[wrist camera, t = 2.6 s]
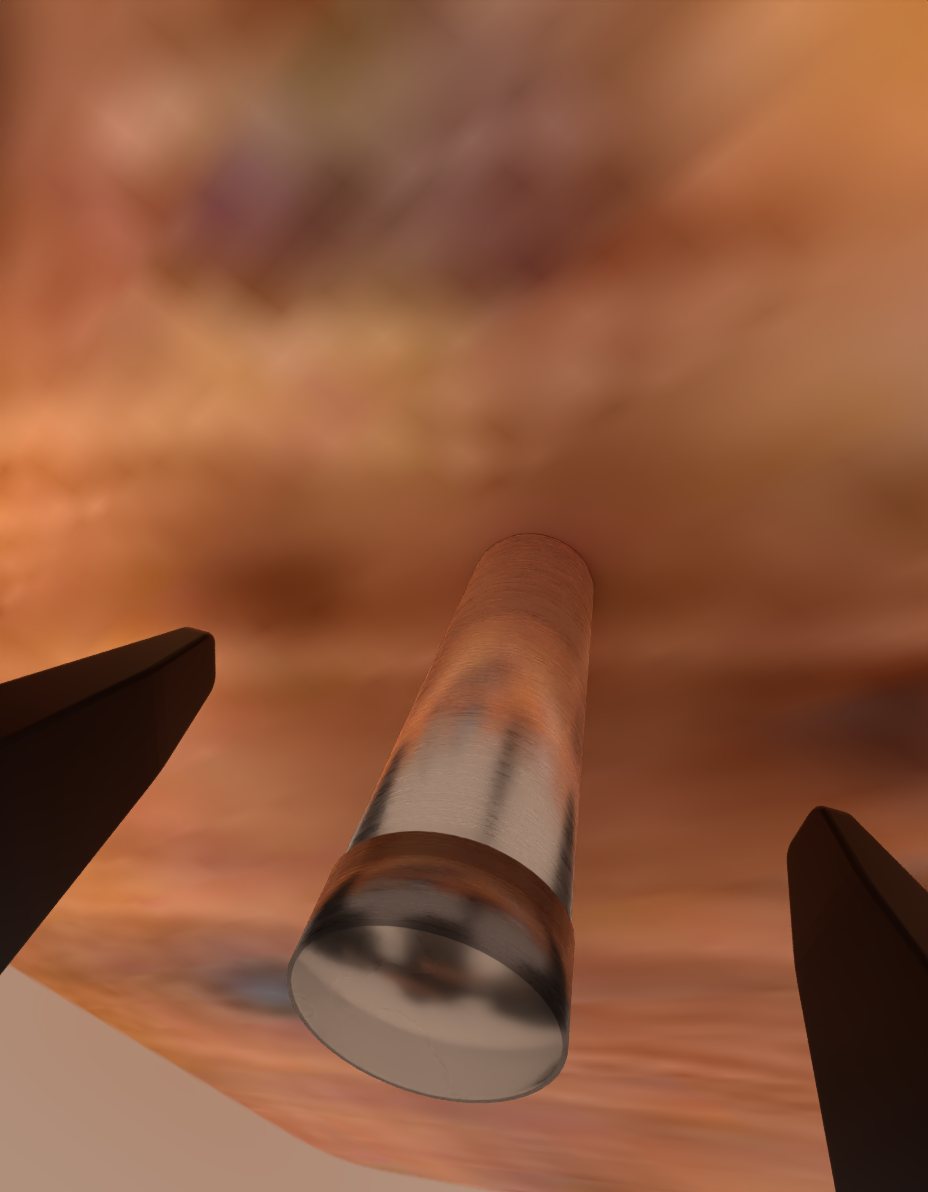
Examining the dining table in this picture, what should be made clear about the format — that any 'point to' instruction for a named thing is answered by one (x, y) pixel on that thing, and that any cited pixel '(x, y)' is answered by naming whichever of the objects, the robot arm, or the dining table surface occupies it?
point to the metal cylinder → (467, 853)
